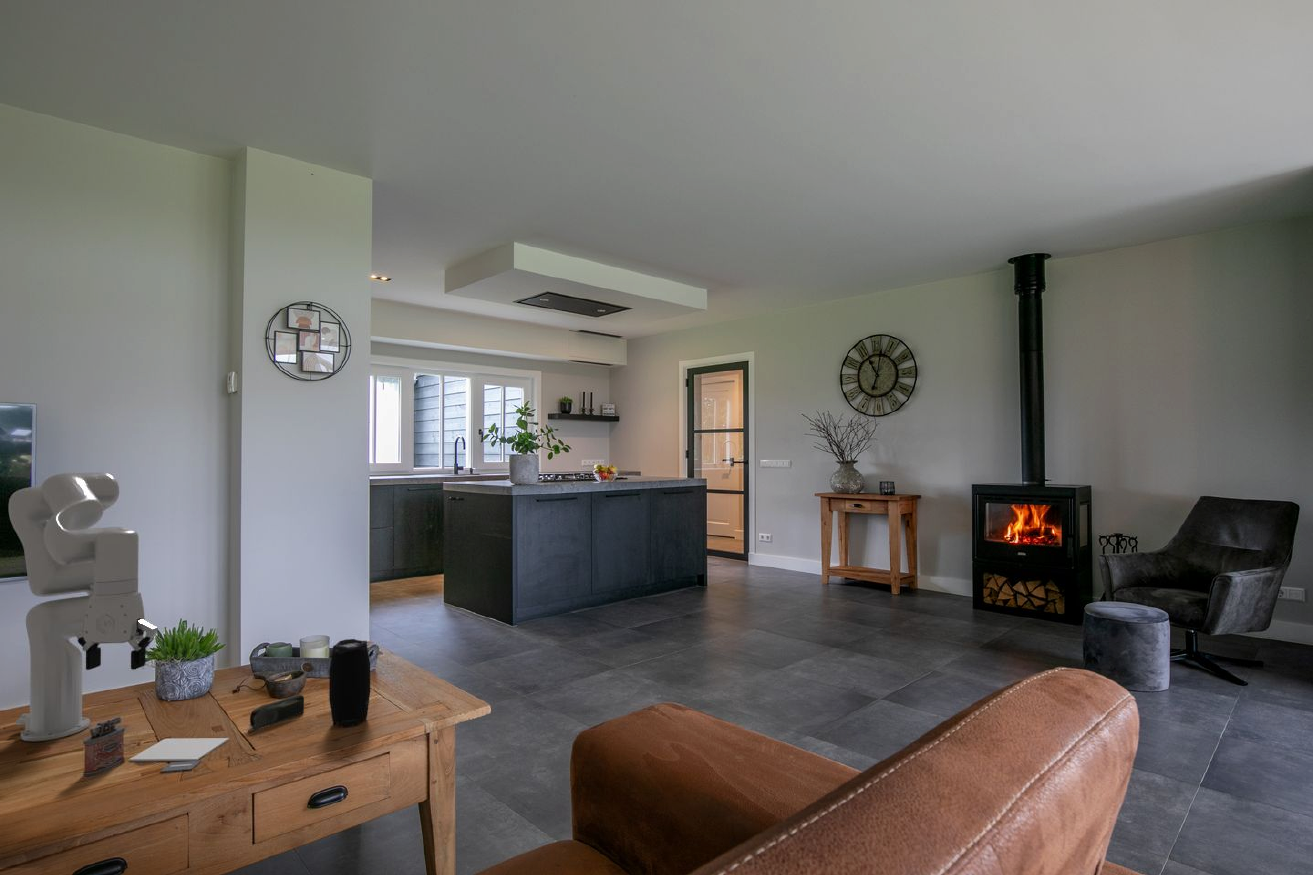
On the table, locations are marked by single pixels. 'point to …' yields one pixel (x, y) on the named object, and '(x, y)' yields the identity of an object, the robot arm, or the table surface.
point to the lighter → (104, 748)
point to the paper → (180, 749)
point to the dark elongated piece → (276, 712)
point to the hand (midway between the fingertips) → (115, 667)
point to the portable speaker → (349, 682)
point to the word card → (180, 766)
